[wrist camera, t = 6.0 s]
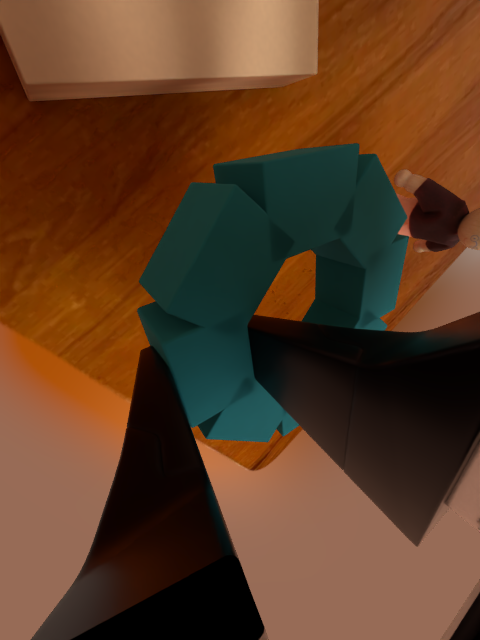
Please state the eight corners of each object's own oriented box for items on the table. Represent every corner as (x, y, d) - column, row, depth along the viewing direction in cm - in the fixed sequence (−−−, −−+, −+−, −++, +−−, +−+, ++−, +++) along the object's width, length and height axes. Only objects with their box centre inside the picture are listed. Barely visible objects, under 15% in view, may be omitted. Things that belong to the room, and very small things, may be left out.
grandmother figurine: (314, 206, 23) (510, 229, 13) (339, 163, 22) (560, 154, 13) (353, 251, 28) (516, 291, 18) (374, 216, 27) (552, 238, 18)
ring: (186, 439, 12) (212, 488, 10) (89, 186, 6) (106, 190, 5) (344, 343, 16) (384, 365, 14) (363, 137, 10) (431, 129, 9)
